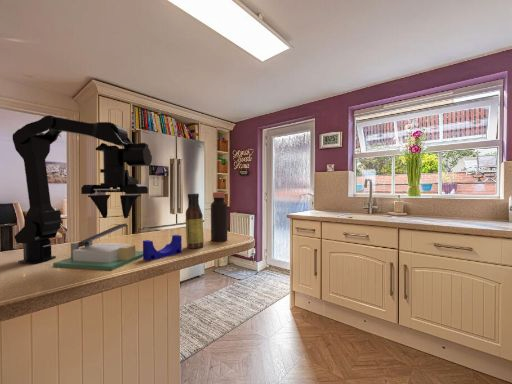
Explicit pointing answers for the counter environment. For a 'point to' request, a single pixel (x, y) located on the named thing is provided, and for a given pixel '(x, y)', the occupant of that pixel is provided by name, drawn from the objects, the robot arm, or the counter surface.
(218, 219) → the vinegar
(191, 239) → the sauce bottle
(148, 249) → the blue cradle block
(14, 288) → the counter surface
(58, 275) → the counter surface
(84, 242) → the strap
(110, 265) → the board
